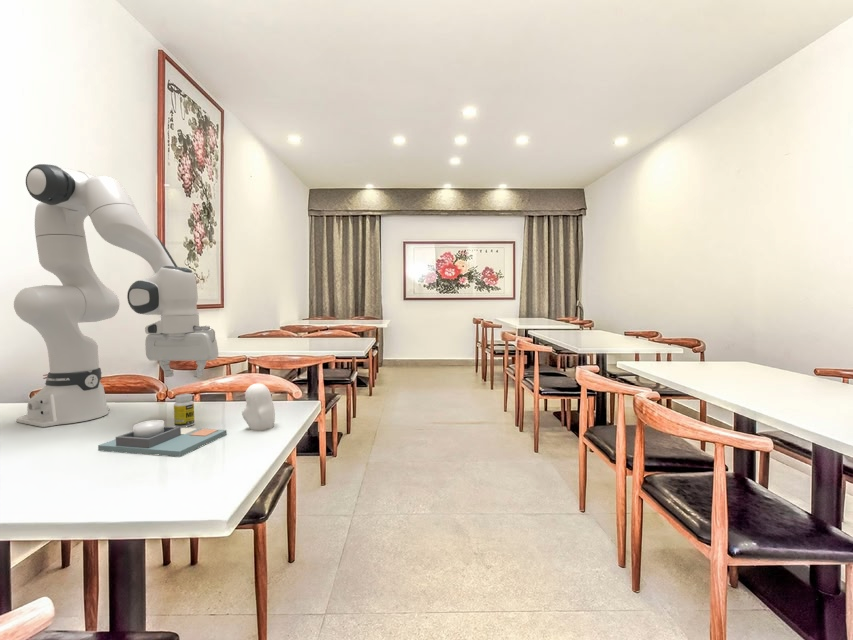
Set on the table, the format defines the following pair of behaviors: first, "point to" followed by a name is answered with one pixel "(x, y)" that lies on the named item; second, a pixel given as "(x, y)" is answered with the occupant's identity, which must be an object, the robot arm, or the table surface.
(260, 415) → the figurine
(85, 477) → the table surface
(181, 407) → the supplement bottle
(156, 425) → the dome
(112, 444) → the board
